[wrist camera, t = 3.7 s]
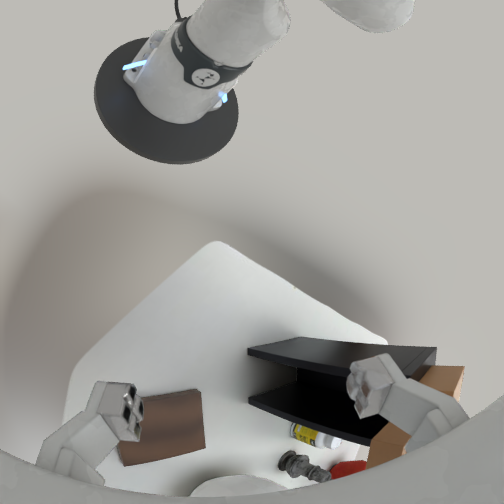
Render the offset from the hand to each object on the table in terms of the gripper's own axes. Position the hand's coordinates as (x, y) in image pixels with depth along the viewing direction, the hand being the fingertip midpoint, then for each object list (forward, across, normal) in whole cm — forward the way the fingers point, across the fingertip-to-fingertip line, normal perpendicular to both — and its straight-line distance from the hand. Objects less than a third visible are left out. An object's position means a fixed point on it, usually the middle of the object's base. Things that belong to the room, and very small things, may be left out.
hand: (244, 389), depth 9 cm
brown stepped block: (+6, -17, +17) cm, 25 cm away
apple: (+20, -21, +69) cm, 75 cm away
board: (+14, +12, +25) cm, 31 cm away
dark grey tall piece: (+18, -7, +50) cm, 53 cm away
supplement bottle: (+24, -10, +44) cm, 51 cm away
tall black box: (+28, -6, +28) cm, 40 cm away
